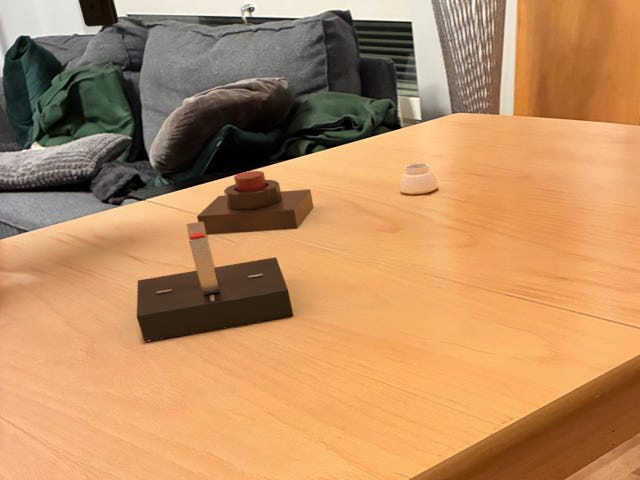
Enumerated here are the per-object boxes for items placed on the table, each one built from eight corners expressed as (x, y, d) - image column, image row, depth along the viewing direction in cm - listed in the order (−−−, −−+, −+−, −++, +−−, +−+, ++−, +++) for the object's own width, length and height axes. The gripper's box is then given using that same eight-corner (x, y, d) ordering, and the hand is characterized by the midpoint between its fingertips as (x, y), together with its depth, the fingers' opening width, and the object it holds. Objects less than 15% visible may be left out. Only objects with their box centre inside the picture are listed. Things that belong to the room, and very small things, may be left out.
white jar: (445, 186, 125) (413, 185, 127) (443, 161, 123) (410, 160, 125) (425, 197, 122) (392, 195, 124) (422, 172, 120) (389, 170, 122)
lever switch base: (144, 342, 90) (135, 314, 88) (145, 305, 98) (137, 278, 97) (293, 316, 92) (287, 288, 90) (281, 281, 101) (275, 255, 99)
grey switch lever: (200, 276, 96) (186, 221, 93) (216, 273, 96) (202, 218, 93) (203, 295, 91) (188, 237, 88) (220, 292, 92) (205, 235, 88)
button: (233, 195, 116) (230, 179, 115) (242, 187, 119) (238, 172, 118) (262, 193, 116) (259, 177, 115) (270, 185, 119) (267, 169, 118)
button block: (201, 235, 117) (192, 200, 114) (222, 214, 124) (214, 180, 121) (297, 228, 116) (290, 193, 113) (313, 207, 123) (307, 173, 120)
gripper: (43, -192, 99) (97, 19, 111) (-30, -201, 88) (38, 35, 99) (112, -198, 99) (159, 15, 110) (48, -209, 87) (108, 31, 98)
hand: (102, 24), depth 104 cm, fingers closed
